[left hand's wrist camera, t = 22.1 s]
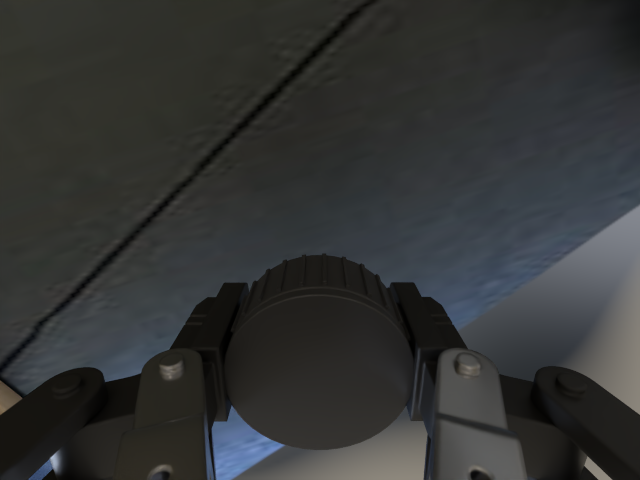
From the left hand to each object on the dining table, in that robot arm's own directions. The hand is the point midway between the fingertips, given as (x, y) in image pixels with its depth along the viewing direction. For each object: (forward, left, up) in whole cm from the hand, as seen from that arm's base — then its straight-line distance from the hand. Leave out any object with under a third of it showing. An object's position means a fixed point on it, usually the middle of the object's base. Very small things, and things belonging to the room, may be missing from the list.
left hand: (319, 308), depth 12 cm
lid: (0, 0, +3) cm, 3 cm away
